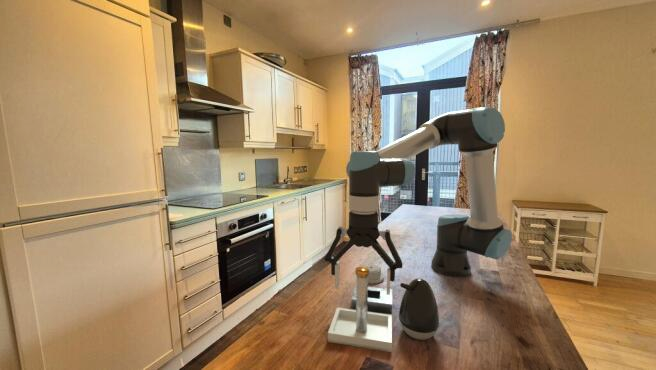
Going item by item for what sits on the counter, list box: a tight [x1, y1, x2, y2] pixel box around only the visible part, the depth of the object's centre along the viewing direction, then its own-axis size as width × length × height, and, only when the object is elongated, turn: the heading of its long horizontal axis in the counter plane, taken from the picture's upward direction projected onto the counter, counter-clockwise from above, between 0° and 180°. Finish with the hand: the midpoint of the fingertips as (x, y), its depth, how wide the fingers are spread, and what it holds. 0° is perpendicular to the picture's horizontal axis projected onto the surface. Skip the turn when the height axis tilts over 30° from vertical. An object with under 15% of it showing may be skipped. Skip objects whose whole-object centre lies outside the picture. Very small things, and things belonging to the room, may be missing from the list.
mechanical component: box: [361, 263, 385, 284], centre depth 106 cm, size 10×4×10 cm
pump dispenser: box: [398, 278, 440, 341], centre depth 73 cm, size 10×10×15 cm
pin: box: [355, 266, 369, 333], centre depth 73 cm, size 4×4×17 cm
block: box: [350, 284, 393, 316], centre depth 85 cm, size 12×9×4 cm
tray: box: [327, 306, 393, 353], centre depth 74 cm, size 16×12×2 cm
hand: (362, 289), depth 73 cm, fingers open, 13 cm apart
